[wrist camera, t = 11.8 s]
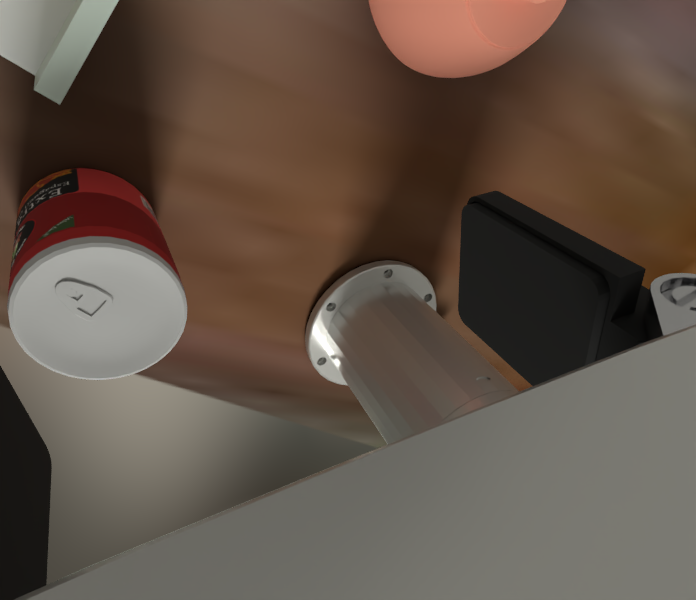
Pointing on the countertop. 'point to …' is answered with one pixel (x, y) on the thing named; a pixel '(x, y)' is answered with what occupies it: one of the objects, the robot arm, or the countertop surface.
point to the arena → (51, 38)
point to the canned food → (92, 278)
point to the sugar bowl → (461, 32)
